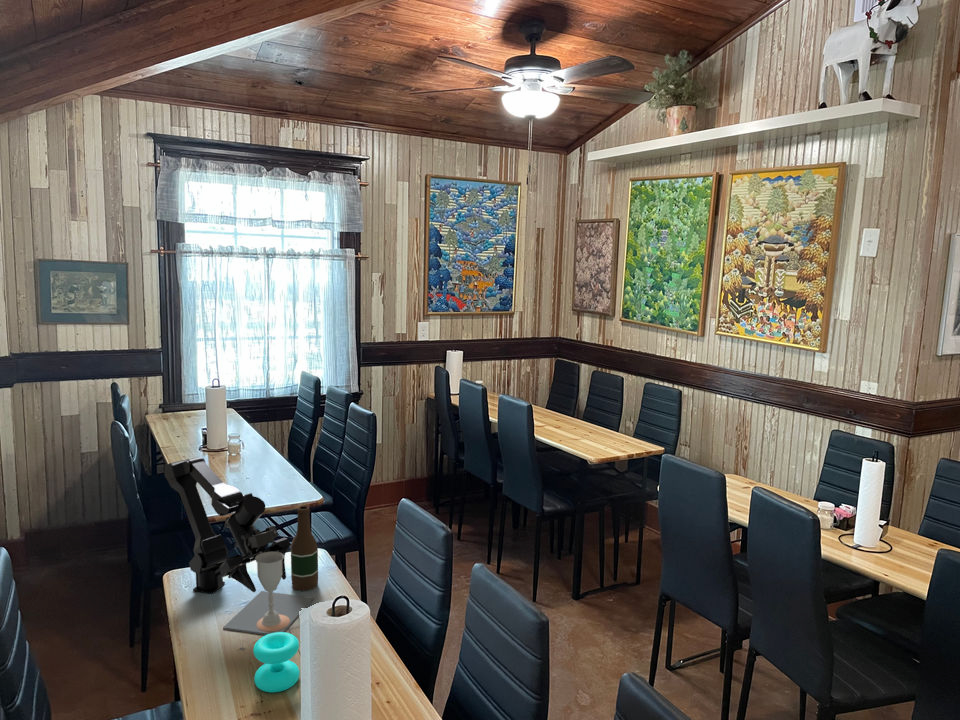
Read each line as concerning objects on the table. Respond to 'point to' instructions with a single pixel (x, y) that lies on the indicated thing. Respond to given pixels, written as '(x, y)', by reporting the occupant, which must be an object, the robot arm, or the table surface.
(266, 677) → the turquoise spool
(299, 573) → the beer bottle
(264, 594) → the mat
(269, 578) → the chalice
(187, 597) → the table surface
